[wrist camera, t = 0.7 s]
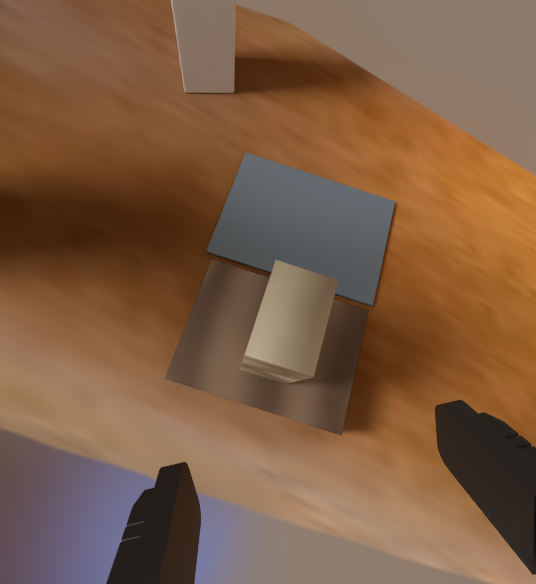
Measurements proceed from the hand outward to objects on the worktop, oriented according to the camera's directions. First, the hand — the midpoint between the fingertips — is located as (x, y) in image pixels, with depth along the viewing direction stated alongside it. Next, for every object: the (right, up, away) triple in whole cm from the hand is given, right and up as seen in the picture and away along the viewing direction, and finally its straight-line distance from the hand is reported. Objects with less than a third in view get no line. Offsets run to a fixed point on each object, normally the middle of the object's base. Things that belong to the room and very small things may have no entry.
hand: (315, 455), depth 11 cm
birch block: (-1, +1, +19) cm, 19 cm away
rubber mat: (+3, +12, +27) cm, 30 cm away
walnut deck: (-2, 0, +22) cm, 22 cm away
